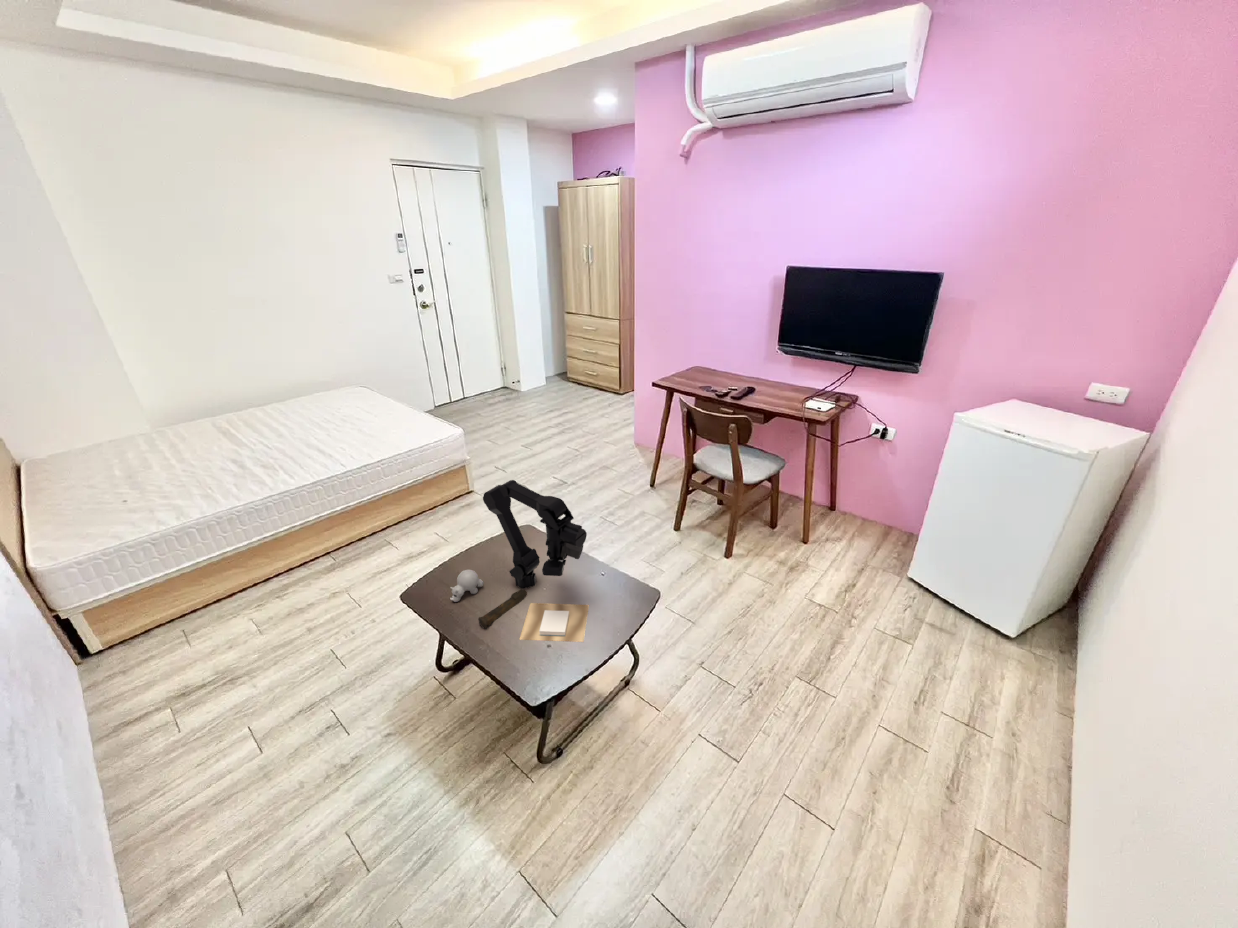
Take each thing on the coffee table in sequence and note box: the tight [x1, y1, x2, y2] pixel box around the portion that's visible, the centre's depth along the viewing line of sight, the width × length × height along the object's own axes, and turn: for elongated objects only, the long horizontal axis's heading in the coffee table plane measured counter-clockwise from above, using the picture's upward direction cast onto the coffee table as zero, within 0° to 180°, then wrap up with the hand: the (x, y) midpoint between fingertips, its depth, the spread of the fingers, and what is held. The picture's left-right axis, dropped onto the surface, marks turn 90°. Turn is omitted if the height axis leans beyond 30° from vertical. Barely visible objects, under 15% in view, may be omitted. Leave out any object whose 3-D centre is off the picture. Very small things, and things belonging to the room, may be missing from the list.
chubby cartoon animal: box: [449, 569, 484, 603], centre depth 165 cm, size 7×12×8 cm, turn 142°
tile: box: [539, 610, 569, 636], centre depth 151 cm, size 8×2×9 cm
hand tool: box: [478, 588, 528, 630], centre depth 158 cm, size 19×4×5 cm, turn 138°
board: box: [518, 602, 590, 643], centre depth 153 cm, size 20×16×1 cm
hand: (558, 574), depth 157 cm, fingers closed
